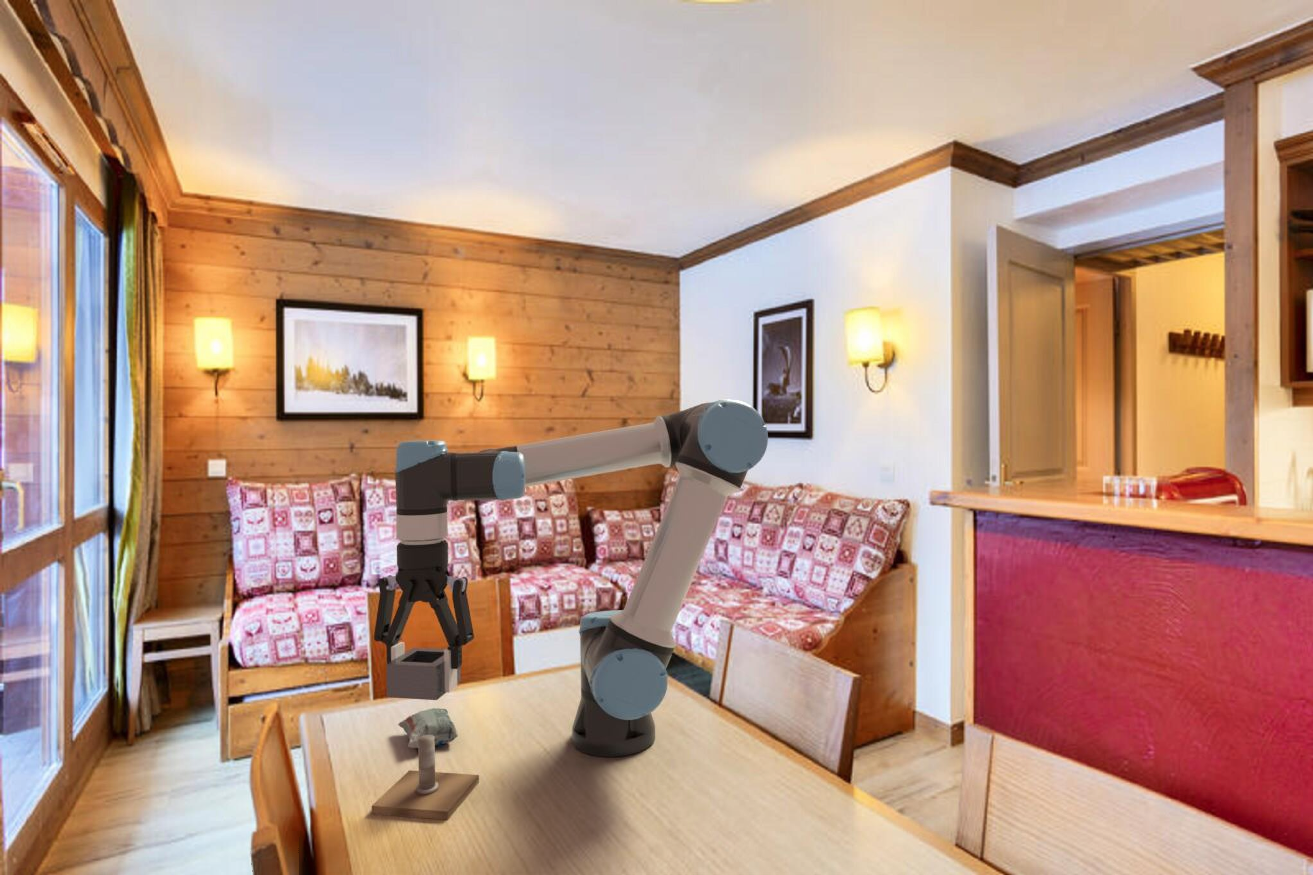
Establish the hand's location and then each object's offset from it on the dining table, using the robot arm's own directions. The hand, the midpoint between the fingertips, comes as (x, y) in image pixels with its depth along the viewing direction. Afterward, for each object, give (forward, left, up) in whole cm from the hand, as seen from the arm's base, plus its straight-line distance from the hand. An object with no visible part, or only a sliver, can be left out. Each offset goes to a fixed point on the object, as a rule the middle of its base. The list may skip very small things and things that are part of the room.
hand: (424, 687), depth 109 cm
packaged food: (+10, -19, -17) cm, 28 cm away
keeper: (0, 0, -17) cm, 17 cm away
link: (0, 0, 0) cm, 0 cm away
